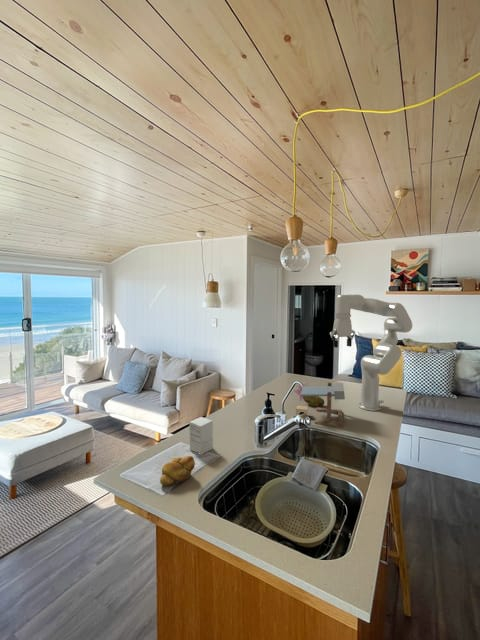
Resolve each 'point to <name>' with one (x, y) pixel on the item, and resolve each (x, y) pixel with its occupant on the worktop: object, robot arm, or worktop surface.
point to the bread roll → (177, 470)
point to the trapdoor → (324, 390)
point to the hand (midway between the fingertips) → (342, 346)
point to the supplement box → (201, 435)
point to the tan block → (302, 409)
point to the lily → (300, 390)
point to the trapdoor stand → (329, 411)
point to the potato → (314, 400)
